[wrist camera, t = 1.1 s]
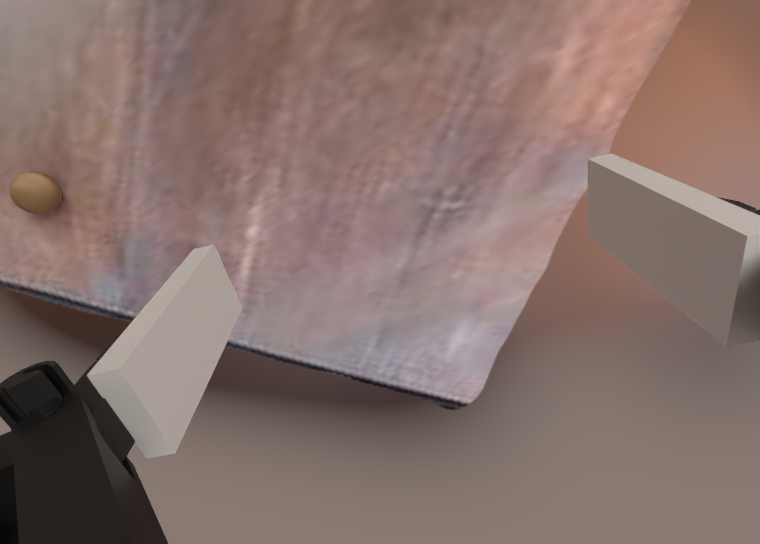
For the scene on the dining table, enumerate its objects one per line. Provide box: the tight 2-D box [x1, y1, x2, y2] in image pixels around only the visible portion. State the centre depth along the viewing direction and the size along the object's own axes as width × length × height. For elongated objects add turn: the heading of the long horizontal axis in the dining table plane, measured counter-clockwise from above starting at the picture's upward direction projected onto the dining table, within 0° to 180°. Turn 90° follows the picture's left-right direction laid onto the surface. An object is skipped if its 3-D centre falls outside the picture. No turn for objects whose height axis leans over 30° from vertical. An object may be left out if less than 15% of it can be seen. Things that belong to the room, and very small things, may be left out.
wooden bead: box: [10, 172, 62, 213], centre depth 37 cm, size 4×4×4 cm
